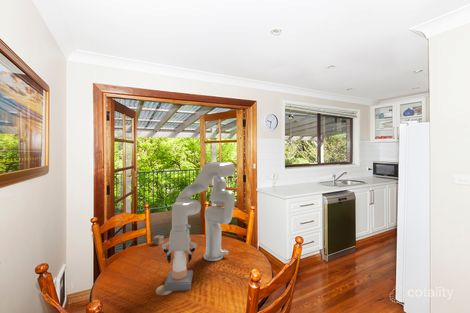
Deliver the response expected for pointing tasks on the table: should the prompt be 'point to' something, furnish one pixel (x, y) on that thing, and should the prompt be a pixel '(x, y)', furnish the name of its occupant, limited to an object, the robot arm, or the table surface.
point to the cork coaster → (162, 291)
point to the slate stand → (178, 282)
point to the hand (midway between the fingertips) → (179, 261)
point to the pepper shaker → (179, 265)
